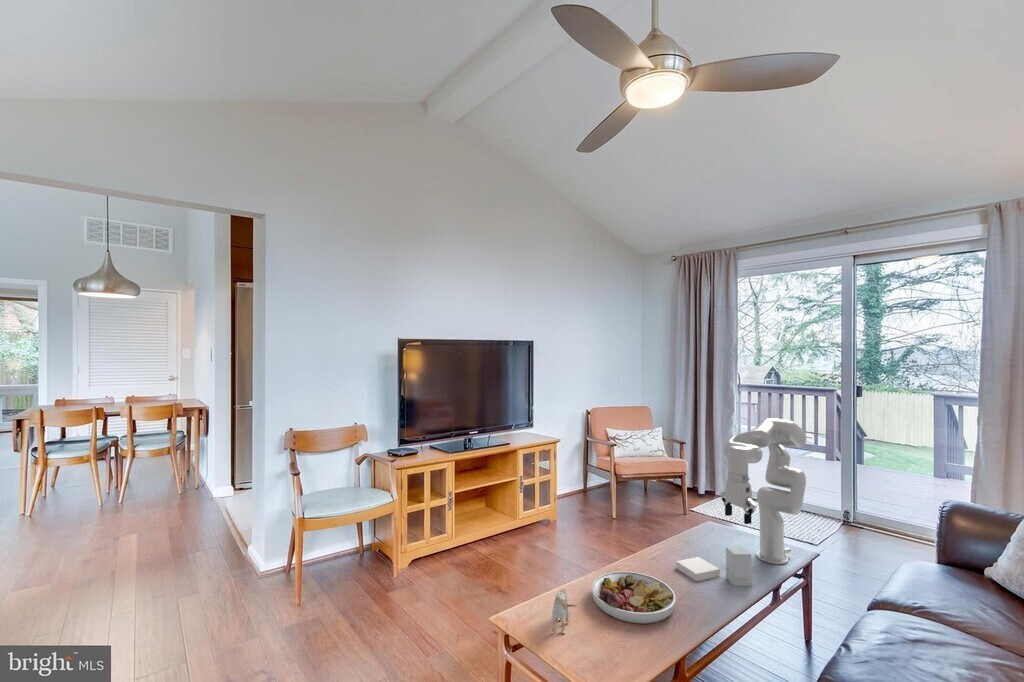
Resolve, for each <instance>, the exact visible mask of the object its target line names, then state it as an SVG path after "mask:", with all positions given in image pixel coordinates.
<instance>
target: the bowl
mask: <svg viewBox="0 0 1024 682" xmlns="http://www.w3.org/2000/svg"><path fill="white" fill-rule="evenodd" d="M591 594H592V599H593V600H594V602H595V603H596V605H597V606H598V607H599V609H601V611H603V613H606V614H607V615H609V616H610V615H611V617H612V616H613V617H612V618H615V619H618V620H620V621H623V622H627V623H632V624H651V623H658V622H660V621H662V620H665V619H666V618H667V617H669V616H670V615H671V614H672V613H673V611H674V609H675V606H676V595H675V592H674V590H673V589H672V588H671V587H670V586H669V585H668V584H667V583H665V582H664V581H662V580H660V579H658V578H656V577H654V576H651V575H649V574H644V573H641V572H635V571H612V572H607V573H605V574H602V575H600V576H597V578H595V579H594V580H593V582H592V583H591Z"/></svg>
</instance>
